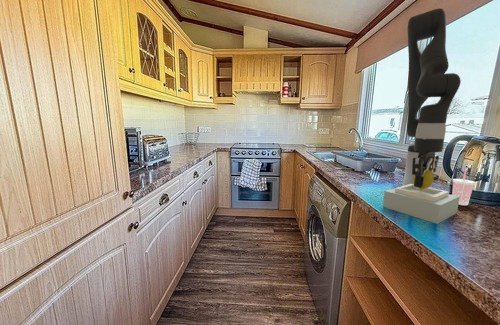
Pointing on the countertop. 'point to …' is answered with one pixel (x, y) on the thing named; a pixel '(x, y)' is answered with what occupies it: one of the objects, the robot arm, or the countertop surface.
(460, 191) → the beverage cup
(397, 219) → the countertop surface
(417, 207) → the stand
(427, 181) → the lemon
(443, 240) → the countertop surface
